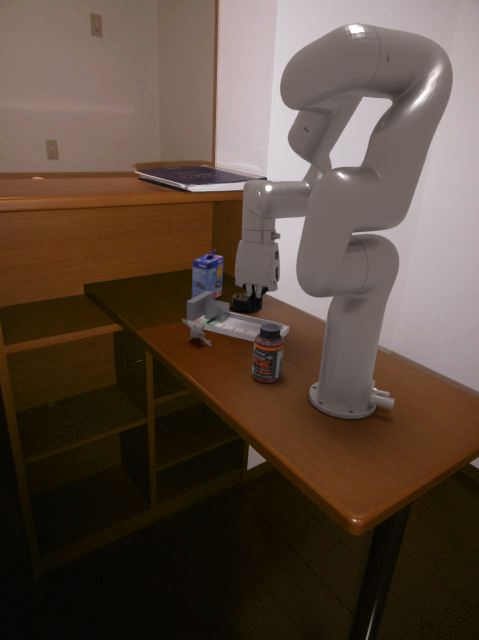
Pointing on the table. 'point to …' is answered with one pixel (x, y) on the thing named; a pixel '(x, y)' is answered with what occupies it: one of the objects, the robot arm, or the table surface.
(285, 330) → the board
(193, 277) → the ink cartridge box
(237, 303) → the tape measure
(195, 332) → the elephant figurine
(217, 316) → the block
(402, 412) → the table surface
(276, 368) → the supplement bottle
